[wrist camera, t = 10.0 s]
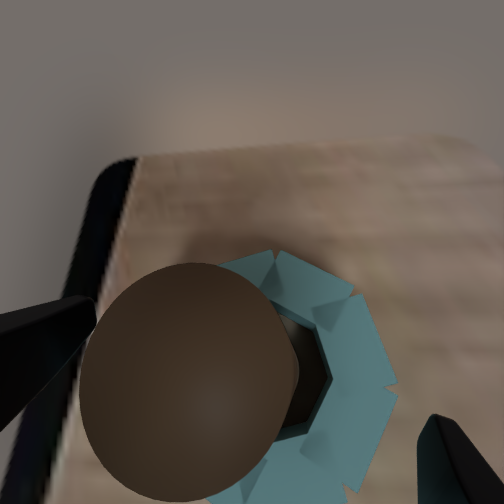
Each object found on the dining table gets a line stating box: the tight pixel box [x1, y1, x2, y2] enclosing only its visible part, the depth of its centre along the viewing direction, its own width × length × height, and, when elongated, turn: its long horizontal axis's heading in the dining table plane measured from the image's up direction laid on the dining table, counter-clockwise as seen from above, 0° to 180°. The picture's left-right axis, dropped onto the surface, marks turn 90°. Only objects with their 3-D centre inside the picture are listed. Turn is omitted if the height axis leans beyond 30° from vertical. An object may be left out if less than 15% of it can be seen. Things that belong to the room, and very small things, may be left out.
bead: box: [206, 249, 398, 504], centre depth 15 cm, size 10×10×3 cm
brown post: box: [79, 263, 300, 502], centre depth 10 cm, size 3×3×12 cm
